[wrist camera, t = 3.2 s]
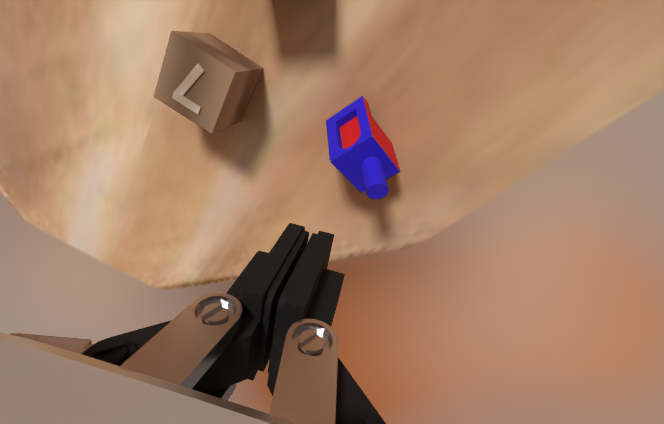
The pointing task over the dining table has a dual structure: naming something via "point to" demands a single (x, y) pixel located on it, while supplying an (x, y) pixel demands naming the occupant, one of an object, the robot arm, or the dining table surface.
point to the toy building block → (361, 149)
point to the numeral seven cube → (206, 80)
